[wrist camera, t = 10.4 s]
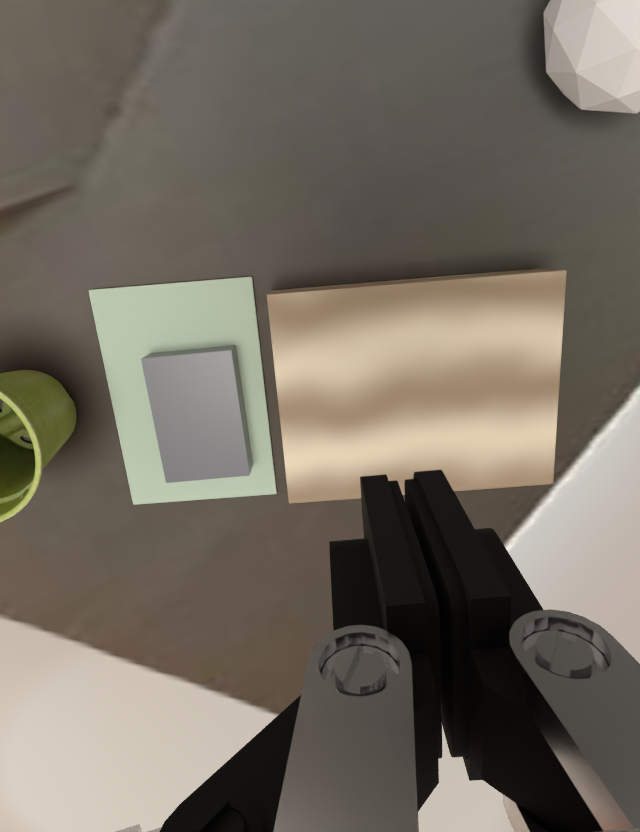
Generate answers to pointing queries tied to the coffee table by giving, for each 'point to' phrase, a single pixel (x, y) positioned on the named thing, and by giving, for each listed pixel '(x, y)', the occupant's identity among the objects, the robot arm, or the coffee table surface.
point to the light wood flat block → (419, 381)
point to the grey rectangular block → (198, 413)
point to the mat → (172, 331)
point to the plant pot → (30, 433)
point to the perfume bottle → (595, 52)
